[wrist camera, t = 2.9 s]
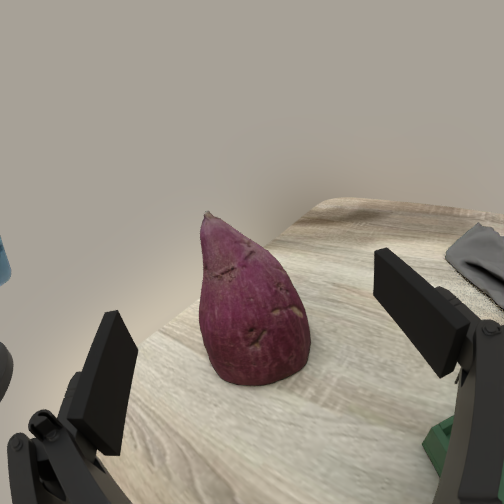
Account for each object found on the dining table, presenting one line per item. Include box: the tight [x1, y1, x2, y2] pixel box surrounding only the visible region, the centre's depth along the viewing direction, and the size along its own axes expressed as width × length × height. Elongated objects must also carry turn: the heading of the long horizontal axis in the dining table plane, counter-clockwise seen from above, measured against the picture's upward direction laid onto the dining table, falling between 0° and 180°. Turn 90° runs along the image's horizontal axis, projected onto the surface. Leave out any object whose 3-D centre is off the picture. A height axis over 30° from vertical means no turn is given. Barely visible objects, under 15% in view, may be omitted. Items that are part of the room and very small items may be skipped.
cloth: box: [445, 222, 504, 309], centre depth 30 cm, size 26×14×2 cm, turn 142°
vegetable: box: [199, 211, 311, 386], centre depth 26 cm, size 10×10×15 cm
